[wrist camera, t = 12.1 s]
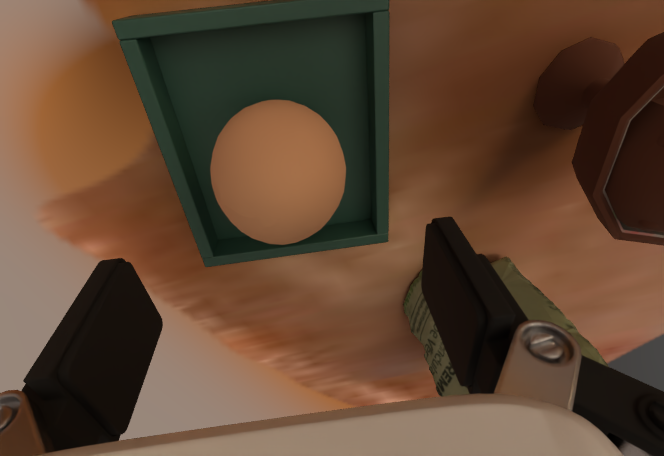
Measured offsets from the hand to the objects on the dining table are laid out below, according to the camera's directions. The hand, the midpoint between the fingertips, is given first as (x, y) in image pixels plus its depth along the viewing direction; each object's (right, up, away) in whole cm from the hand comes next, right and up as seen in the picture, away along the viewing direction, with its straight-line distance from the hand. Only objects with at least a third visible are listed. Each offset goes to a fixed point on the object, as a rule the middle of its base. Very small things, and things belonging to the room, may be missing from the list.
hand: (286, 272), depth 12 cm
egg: (-2, +7, +11) cm, 13 cm away
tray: (-2, +7, +11) cm, 13 cm away
